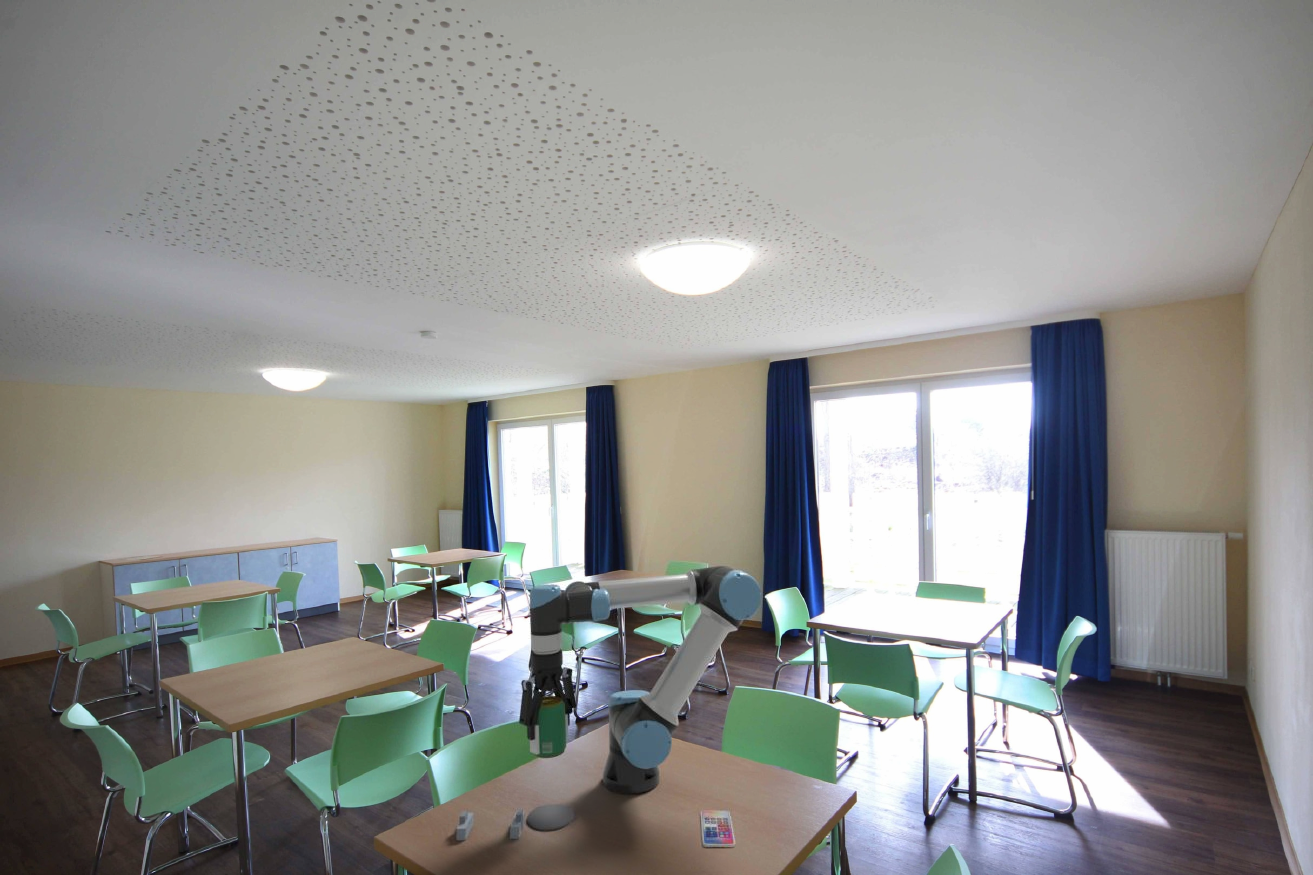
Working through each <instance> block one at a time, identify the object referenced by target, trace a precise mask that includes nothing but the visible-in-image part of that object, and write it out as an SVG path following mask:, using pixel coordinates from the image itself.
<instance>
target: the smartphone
mask: <svg viewBox="0 0 1313 875" xmlns="http://www.w3.org/2000/svg"><path fill="white" fill-rule="evenodd" d="M699 814H700V815H699V816H700V817H701V818H700V830H701V831H700V832H701V833H700V834H701V835H700V836H701V843H702V847H704V848H706V847H719V846H722V847H725V846H734V844H736V837H735V833H733V832H734V828H733V827H732V826H733V822H732V821H731V820H732V816H730V814H731V812H730V811H728V810H708V809H707V810H705V809H704V810H701V811H700V813H699ZM734 837H735V838H734Z"/></svg>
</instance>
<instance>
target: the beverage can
mask: <svg viewBox="0 0 1313 875" xmlns="http://www.w3.org/2000/svg"><path fill="white" fill-rule="evenodd" d="M536 724H537V725H539V751H540V754H538V755H536V754H534V755H535V757H537V758H540V759H553V758H556V757H559V756H562V754H564V753H565V749H566V748H567V742H566V721H565V704H564V702H563V701H562V698H559V697H556V696H555V695H547V696H546V695H545V696H544V697H543V700H542V704H541V707H540V710H539V714H538V718H537V721H536Z"/></svg>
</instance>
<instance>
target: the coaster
mask: <svg viewBox="0 0 1313 875" xmlns="http://www.w3.org/2000/svg"><path fill="white" fill-rule="evenodd" d="M574 818H575V811H574V810H573V808H572V807H570V806H568V805H566V804H560V803H550V804H544V805H540V806H538V807H536V808H534V809H532V810H531V811H530V812H529V813H528V815H527V824H528V825H529V827H531V828H533V829H535V830H538V831H546V832H548V831H554V830H559V829H562V828H565V827H567V826H569V825H570V824H572V822H573V821H574Z"/></svg>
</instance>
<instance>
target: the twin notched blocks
mask: <svg viewBox="0 0 1313 875" xmlns="http://www.w3.org/2000/svg"><path fill="white" fill-rule="evenodd" d="M525 811H526V810H524V809H523V808H522V809H517V811H515V813H514V816H513V819H512V821H511V824H510V826H509V827H510V828H509V833H510V834H509V839H510V840H514V839H515V840H517V839H520V837H521V835H522V831H523V828H524V824H525V822H526V819H525V818H526V816H525V815H526V813H525ZM474 818H475V817H474V812H469V811H468V810H463V811H461V813H460V815H459V823H458V825H457V826H456V827H457V828H456V841H466V840H467V838H468V835H469V834H470V832H471V829H472V828H473V826H474V824H475V823H474V820H475V819H474Z"/></svg>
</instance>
